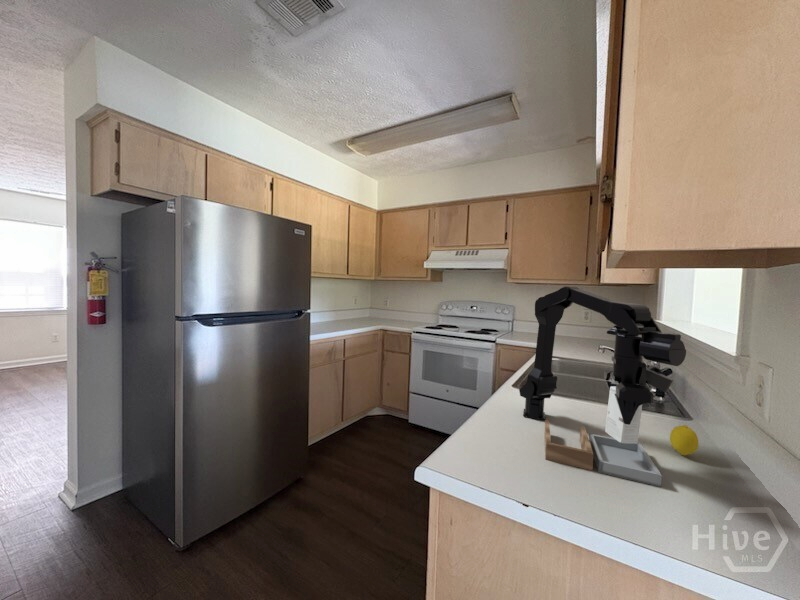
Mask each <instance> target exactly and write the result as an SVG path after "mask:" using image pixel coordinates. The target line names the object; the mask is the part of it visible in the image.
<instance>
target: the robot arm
mask: <svg viewBox="0 0 800 600" xmlns="http://www.w3.org/2000/svg"><path fill="white" fill-rule="evenodd" d="M573 304H576V305H578V306H580V307H583V308H586V309H589V310H591V311H593V312H596V313H598V314H601V315H602V316H604V318H605V319H606V320H607V321H609V322H610V323H611V324H613V327H612V328H610V329H608V330H607V331H606V334H607V335H612V336H615V337H614V338H615V339H614V349H613V350H614V351H613V355H612V356H611V361H612V368H606V369H605V370H604V371H603V378H604V380H605V383H606V386H607V389H608V391H609V393H610V387H611V386H616V394H615V397H616V400H617V403H618V406H619V409H620V412H621V416H622V419H623V421H624V424H628V425H630V423H631V421H632V419H633V417H634V415H635V413H636V410H637V409H638V407H639V406H640V405H642V406H643V405H644V404H645V405H646V404H654V396H655V395H654V393H652V391H651V390H650V389H648V388H647V387H646V385H647V384H648V385H649V386H652V387H654V388H656V389H658V390H660V391H661V392H663V393H667V392H668V391H669V389H670V387H671V386H672V384H673V382H674V380H672V379H671V378H670V377H668V376H667V375H665V374H662V372H661V368H659V367H656V366H654V365H652V364H651V365H650V366H647V364H646V363H645V361H644V360H646V361H651V362H655V363H659V364H663V365H664V364H665V365H669V366H674V367H678V366H681V365H682V363H684V361H685V359H686V357H687V356H686V355H687V349H686V346H685V343H684V342H683V341H682V340H681V337H682V335H681V334H680V333H666V332H665V333H664V332H662V331H661V329H660V327H659V326H658V324H657V323H656V321H655V320H654V319H653V317H652V313H651V311H650V308H649V307H647V306H646V305H645V304H641V303H634V302H626V301H618V300H613V299H610V298H607V297H603V296H601V295H599V294H595V293H592V292H589V291H588V290H583V289H581V288H579V287H577V286H566V285H565V286H563V287H560V288H559V289H557V290H555V291H553V292H551V293H548V294H546V295H544V296H540V297H538V298H537V299H536V300H535V302H534V316H535V318H536V320H537V322H538V329H537V340H536V348H535V355H534V364H533V368H532V369H531V370H530V371H529V373H528V374H527V377H526V381H525V382H526V383H525V384H524V385H522V386H521V387H520V388H519V389H518V390H519V391H518V393H519V396H520V397H522V398H524V399H525V403H524V404H525V405H524V406H525V407H524V408H523V411H522V412H523V414H522V415H523V417H525V418H530V419H535V420H540V421H545V420H546V415H545V414H546V413H545V412H544V409H545V399H551V397H552V395H553V393H554V392H555V390H556V389H557V382H558V377H557V376H558V375H557V376H556V375H554V373H553V370H552V363H553V353H554V348H555V347H554V346H555V338H556V337H555V336H556V330H557V329H556V328H557V325H558V324H559V322H560V321H561V320H562V318H563V316H564V312H565V310H566V309H568V308H569V307H571V306H572V305H573ZM643 359H644V360H643Z"/></svg>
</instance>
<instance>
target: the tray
mask: <svg viewBox="0 0 800 600" xmlns="http://www.w3.org/2000/svg"><path fill="white" fill-rule="evenodd" d="M588 439H589V442H590V445H591V448H592V451H593V454H594V455H593V461H594V463H595V466H596V470H597V472H598V473H599V474H604V475H609V476H612V477H617V478H620V479H625V480H630V481H634V482H638V483H642V484H646V485H651V486H655V487H659V488H661V487H662V481H663V479H662V478H663V475H662V473H661V472H660V470H659V469H658V467H657V466H656V464H655V463H654V461H653V460H652V458H651V457H650V455H649V453H648V452H647V451H646V449H645V448H644V447H643V444H642V443H640V442H638V443H636V444H627V443H620V442H618V441H617V440H616V439H614V438H613V437H611V436H604V435H599V434H594V433H589V435H588Z"/></svg>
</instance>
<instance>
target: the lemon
mask: <svg viewBox="0 0 800 600" xmlns="http://www.w3.org/2000/svg"><path fill="white" fill-rule="evenodd" d="M669 442H670V444H671V446H672V448H673V450H675V451H676V452H678V453H679V454H680V455H681V456H684V457H685V456H687V455H693V454H694V453H696V452H697V450H698V448H699V438H698V435H697V433H696V432H695V431H694V429H692V428H690V427H688V425H685V424H682V425H677V426H675V427H674V428H673V429H672V430H671V432H670V435H669Z"/></svg>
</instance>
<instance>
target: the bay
mask: <svg viewBox="0 0 800 600" xmlns="http://www.w3.org/2000/svg"><path fill="white" fill-rule="evenodd" d="M586 430H587V429H586V428H585V427H584V426H580V431H579V444H580V447H581V448H577V447H572V446H568V445H564V444H558V443H555V442H554V443H553V442H551V441H552V440H551V439H552V438H551V429H550V420H547V419H545V420H544V433H543V434H544V452H545V455H544V458H545V459H544V460H546V461H550V462H554V463H559V464H562V465H568V466H572V467H577V468H581V469H585V470H589V471H593V466H594V457H593V455H594V454H593V451H592V448H591V445H590V442H589V435H588V433H587V431H586Z"/></svg>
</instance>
